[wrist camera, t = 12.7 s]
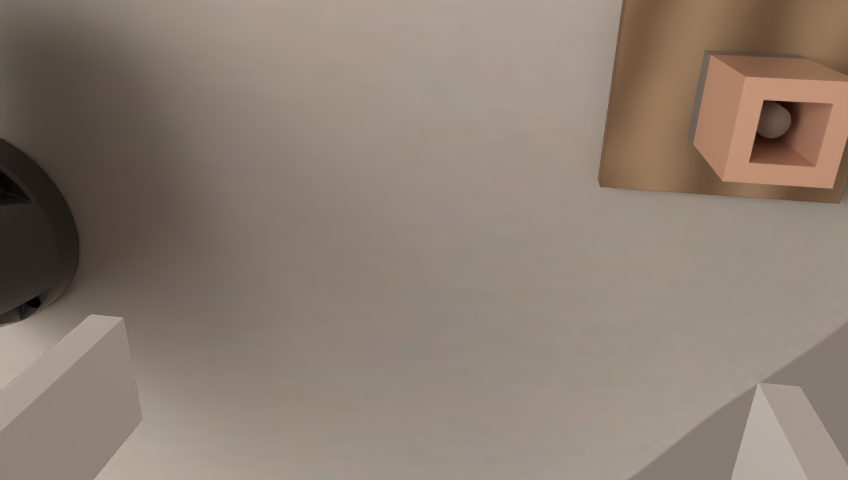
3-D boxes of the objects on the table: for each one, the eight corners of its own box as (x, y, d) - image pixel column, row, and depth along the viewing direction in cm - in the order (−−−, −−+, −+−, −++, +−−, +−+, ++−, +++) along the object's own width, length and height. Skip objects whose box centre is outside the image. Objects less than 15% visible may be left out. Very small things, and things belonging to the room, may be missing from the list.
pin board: (598, 178, 43) (610, 223, 36) (655, -233, 34) (686, -277, 27) (830, 195, 41) (888, 245, 35) (955, -234, 32) (1068, -281, 25)
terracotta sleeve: (687, 137, 40) (722, 181, 32) (704, 50, 38) (745, 76, 30) (776, 142, 39) (832, 188, 32) (798, 54, 37) (863, 82, 30)
